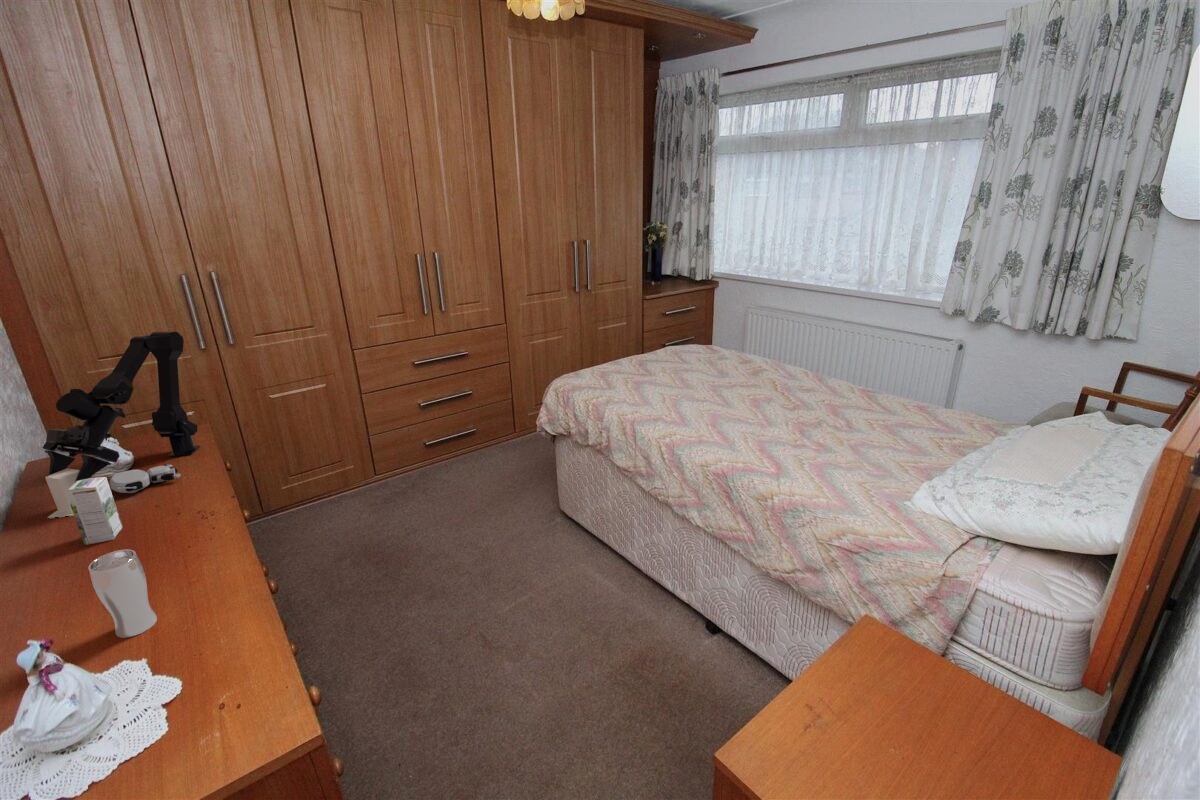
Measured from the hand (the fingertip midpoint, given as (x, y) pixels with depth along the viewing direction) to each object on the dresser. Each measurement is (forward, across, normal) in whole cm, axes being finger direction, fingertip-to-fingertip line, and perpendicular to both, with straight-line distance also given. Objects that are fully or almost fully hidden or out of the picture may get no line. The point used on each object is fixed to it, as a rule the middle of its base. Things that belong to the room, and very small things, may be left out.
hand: (63, 482), depth 139 cm
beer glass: (+26, +59, -14) cm, 67 cm away
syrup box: (+11, +21, +1) cm, 24 cm away
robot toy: (-5, +5, +17) cm, 18 cm away
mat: (+5, 0, +6) cm, 8 cm away
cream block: (+5, 0, +6) cm, 8 cm away
